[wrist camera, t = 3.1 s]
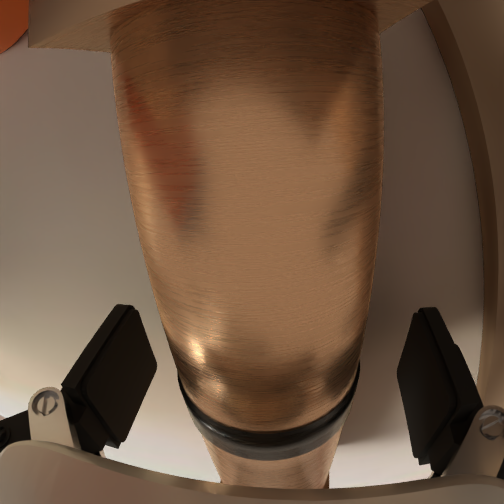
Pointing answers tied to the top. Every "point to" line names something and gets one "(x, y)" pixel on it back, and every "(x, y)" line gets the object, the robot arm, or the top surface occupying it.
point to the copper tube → (251, 204)
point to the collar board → (481, 151)
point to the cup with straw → (12, 21)
